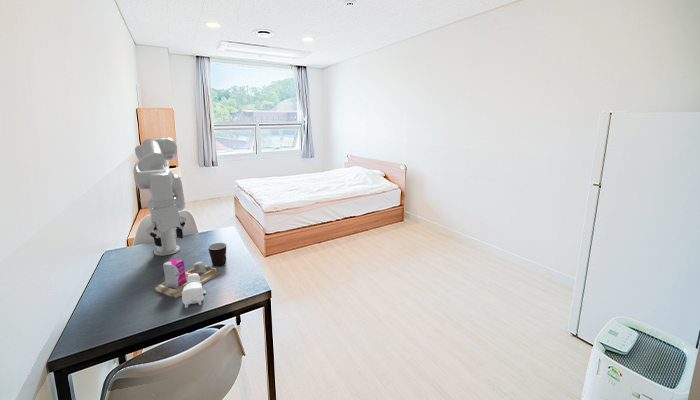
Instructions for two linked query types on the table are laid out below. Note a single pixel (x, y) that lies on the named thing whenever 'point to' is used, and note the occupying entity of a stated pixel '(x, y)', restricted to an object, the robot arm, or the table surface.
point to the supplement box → (174, 273)
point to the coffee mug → (218, 254)
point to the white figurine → (193, 290)
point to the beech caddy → (199, 268)
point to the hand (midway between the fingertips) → (169, 241)
